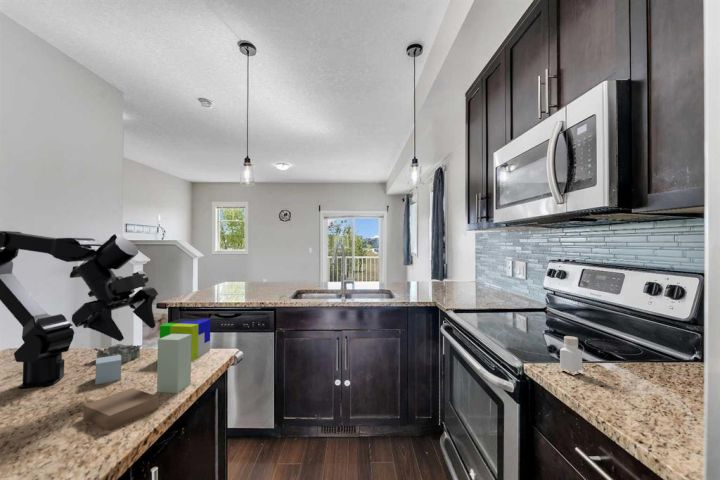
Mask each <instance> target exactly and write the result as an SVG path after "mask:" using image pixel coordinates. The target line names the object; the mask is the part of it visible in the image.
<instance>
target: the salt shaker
mask: <svg viewBox="0 0 720 480" xmlns="http://www.w3.org/2000/svg"><path fill="white" fill-rule="evenodd" d="M563 344H564V347H562V348H560V350H559V365H560V366H559V368H560V367H561V368H563V369H566V370H569V371H572V372H575V371H578V370H581V369H582V370H583V351H581V350H580V349H578V348H579V347H578V346H579V338H578V337H577V336H576V337H575V336H572V335H571V336H570V335H565V336H563Z"/></svg>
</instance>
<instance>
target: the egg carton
mask: <svg viewBox="0 0 720 480" xmlns="http://www.w3.org/2000/svg"><path fill="white" fill-rule="evenodd" d="M142 346H143V344H141V345H133V344H131V345H129V344H128V345H127V344H126V345H125V344H121V343H118V344H115V345H112V346H109V347H108V348H104V349H101V348H98V347H94V349H93V351H96V358H102V357H109V356H115V355H121V364H123V363H129V362H131V361H132V359H138V358H140V356H141V354H140V353H141V350H140V349H141V347H142Z"/></svg>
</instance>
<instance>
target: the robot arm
mask: <svg viewBox="0 0 720 480" xmlns="http://www.w3.org/2000/svg"><path fill="white" fill-rule="evenodd" d="M2 248H3V249H2ZM19 250H22V251H29V252H37V253H42V254H49V255H51V256H52V257H53V258H54V259H57V260H61V261H63V262H65V263H72V262H73V263H74V262H75V263H77V262H81V264H79V265H75V266H74V265H73V267H72V270H71V272H70V273H69V278H72V279H73V278H75V279H77V278H81V279H82V281H84V283H85V284H86V286H87V287H88V289H89V291H88V293H87V295H88V297H89V298H91V297H94V298H95V299H96V300H93V301H87V302H85V303H83V304H82V305H81V306H80V307H79V308H78V309H77V310H76V311H74V312H73V313H72V314H71V322H72V323H70V322H69V321H68V320H67V318H66V316H65V315H63V314H62V313H59V314H54V315H53V314H52V315H51V314H49V313H48V312H46V310H45V309H44V308H43V307H42V306H41V305H40V303H39V302H38V301H37V300H36V299H35V297H34V296H33V295H32V293H30V291H28V289H26V287H25V286H24V285H23V284H22V282H21V281H20V280H19V279H18V278H17V276H16V275H15V274H14V273H13V267H14V261H13V260H14V259H16V258H17V257H18V255H19ZM138 254H139V248H138V247H137V245H136V244H135V243H133V242H131V241H130V240H129V239H127V238H125V237H124V236H123V235H122V234H113V235H111V236H110V237H109V238H108V240H106V241H105V242H104V243H103V244H100V243H98V241H97V240H96V239H94V238H90V237H89V238H87V237H58V238H57V237H50V236H43V235H35V234H30V233H23V232H21V231H11V230H10V231H8V230H7V231H6V230H0V302H1V304H3V305H4V306H5V308H6V309H7V310H8V311H9V312H10V313H11V314H12V316H13V317H14V318H15V319H16V320H17V322H18V323H19V324H20V325H21V326H22V335H21V339H22V341H23V343H22V344H21V345H20V346H19V348H17V349H16V351H14V352H13V356H14V359H15V362H16V363H22V383H21V384H20V385H18V389H26V388H34V387H35V388H36V387H42V386H51V385H55V384H56V383H57V382H59V380H61V379H62V378H63V377H64V376H65V359H64V358H63V354H64V353H67V352H69V349H70V347H71V344H72V342H73V340H74V335H75V330H74V329H73V327H72V326H75V327H76V328H79V327H83V329H90V330H93V331H95V332H98V333H101V334H103V335H105V336H107V337H109V338H112V339H114V340H116V341H118V342H121V341H123V340H125V337H124V335H123V333H122V331H121V329H120V328H119V326H118V325H117V323H116V322H115V321H114V319H113V317H112V311H114V310H118V309H122V308H125V307H129V308H130V309H133V311H132V313H133V314H134V315H136V317H138V318H139V319H140V320H141V321H142V322H143V323H145V325H146V326H147V327H149V328H150V329H154V328H155V327H156V322H155V317H154V312H153V303H154V301H155V300H156V298H157V296H158V295H159V293H158V292H157V290H156V289H155V287H152V286H151V287H146V284H147V283H149V281H150V280H149V276H148V275H147V274H146V272H145V271H144V270H141V271H140V270H139V271H136V272H133V273H132V275H129V276H124V277H123V276H121V275H120V276H119V275H118V276H116V274H115V272H113V270H119V269H121V268H123V267H124V266H125V265H126V264H127V263H128V262H130V261H131V260H132V259H134V258H135V257H136V256H137V255H138ZM145 287H146V288H145ZM139 288H140V289H139ZM137 289H139V290H138V291H137V292H136V291H135V290H137ZM132 294H133V295H132ZM131 295H132V296H131ZM73 324H74V325H73Z"/></svg>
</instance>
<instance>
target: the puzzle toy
mask: <svg viewBox="0 0 720 480" xmlns="http://www.w3.org/2000/svg"><path fill="white" fill-rule="evenodd" d="M211 320H212V319H211V318H209V319H208V318H207V319H205V318H204V319H203V318H179V319H178V318H177V319H176V320H173V321H170V322H166V323H164V324H160V325H159V339H160V338H162V337H165V336H168V335H170V334H191V362H192V361H194V360H196V359H198V358H199V357H201V356H203V355H204V354H206V353H208V352H210V351H211ZM207 351H208V352H207ZM197 357H198V358H197ZM195 358H196V359H195Z"/></svg>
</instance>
